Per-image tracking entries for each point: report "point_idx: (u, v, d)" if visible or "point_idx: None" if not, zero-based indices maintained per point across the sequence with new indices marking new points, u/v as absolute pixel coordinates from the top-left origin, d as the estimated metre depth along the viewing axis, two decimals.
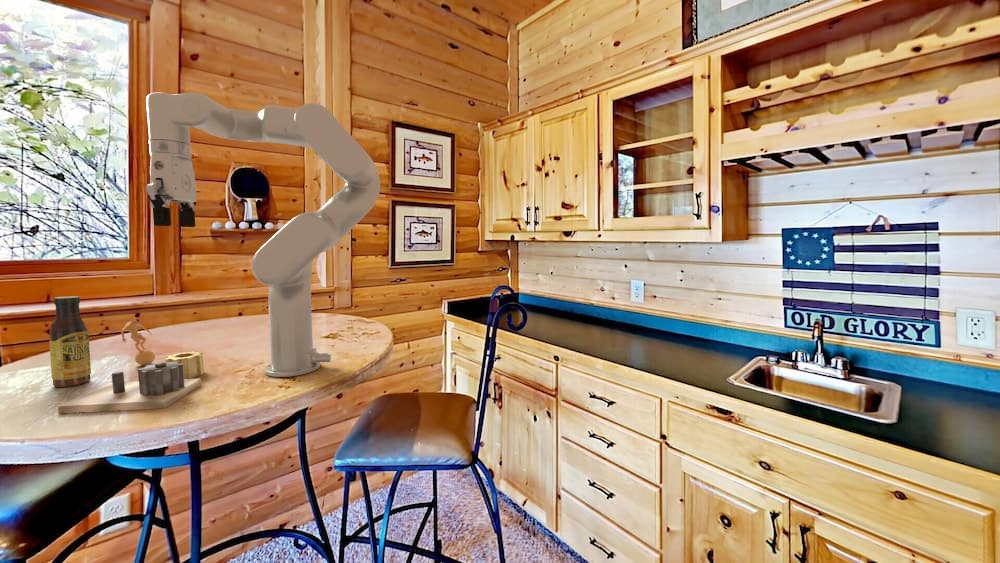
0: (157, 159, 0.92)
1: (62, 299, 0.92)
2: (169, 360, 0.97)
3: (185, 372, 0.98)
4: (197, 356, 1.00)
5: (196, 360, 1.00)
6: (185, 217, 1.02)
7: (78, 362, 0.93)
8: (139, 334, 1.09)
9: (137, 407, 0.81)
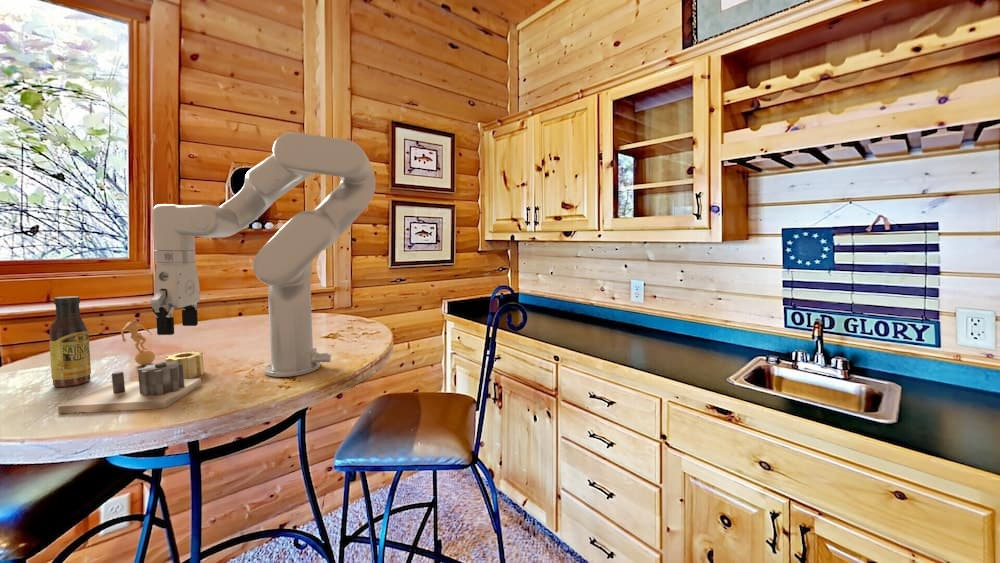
0: (162, 270, 0.93)
1: (62, 299, 0.92)
2: (169, 360, 0.97)
3: (185, 372, 0.98)
4: (197, 356, 1.00)
5: (196, 360, 1.00)
6: (188, 316, 1.03)
7: (78, 362, 0.93)
8: (139, 334, 1.09)
9: (137, 407, 0.81)
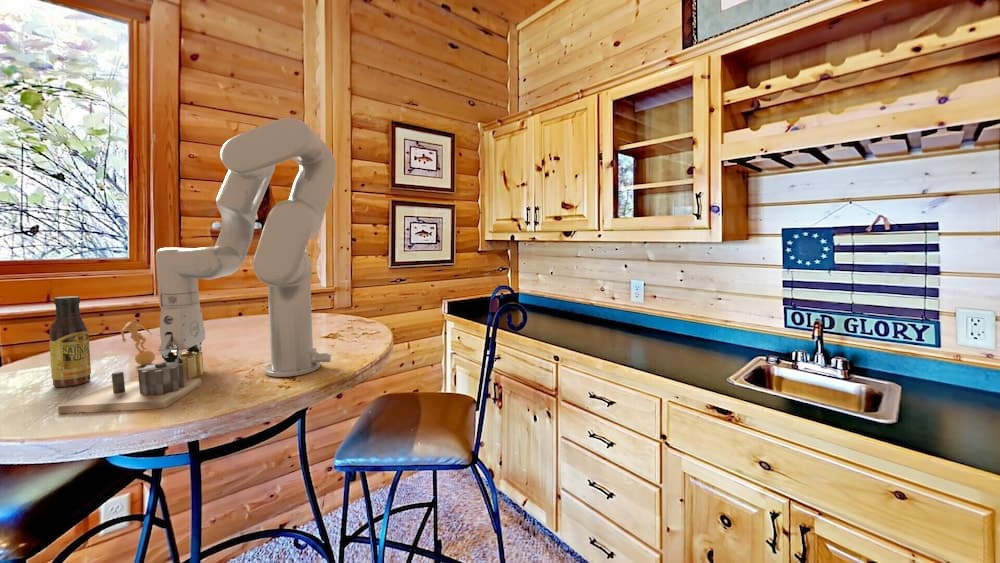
0: (167, 314, 0.94)
1: (62, 299, 0.92)
2: None
3: (185, 372, 0.98)
4: (197, 356, 1.00)
5: (196, 360, 1.00)
6: None
7: (78, 362, 0.93)
8: (139, 334, 1.09)
9: (137, 407, 0.81)
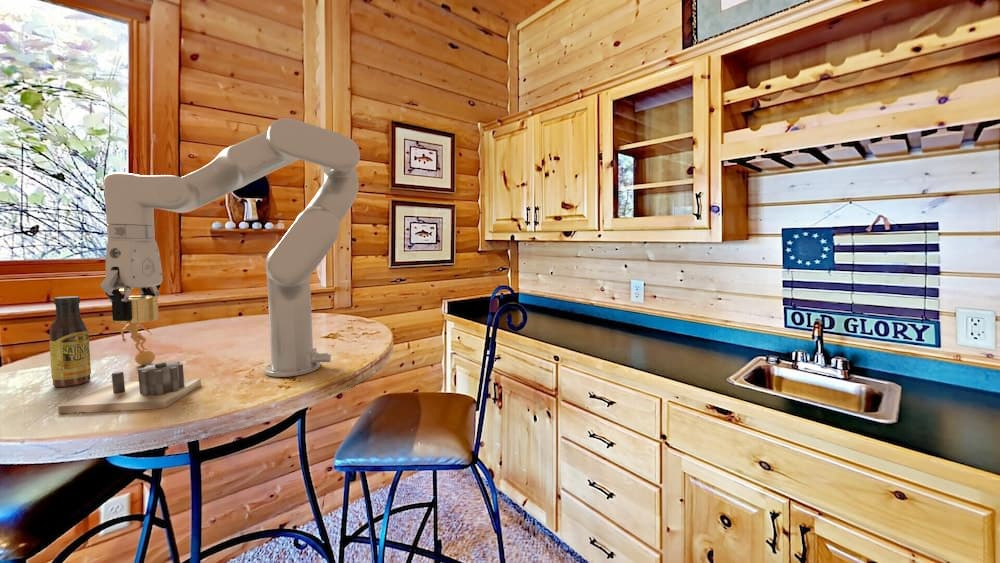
0: (113, 246, 0.83)
1: (62, 299, 0.92)
2: None
3: (134, 315, 0.87)
4: (150, 299, 0.89)
5: (148, 303, 0.89)
6: None
7: (78, 363, 0.93)
8: (139, 334, 1.08)
9: (137, 407, 0.81)
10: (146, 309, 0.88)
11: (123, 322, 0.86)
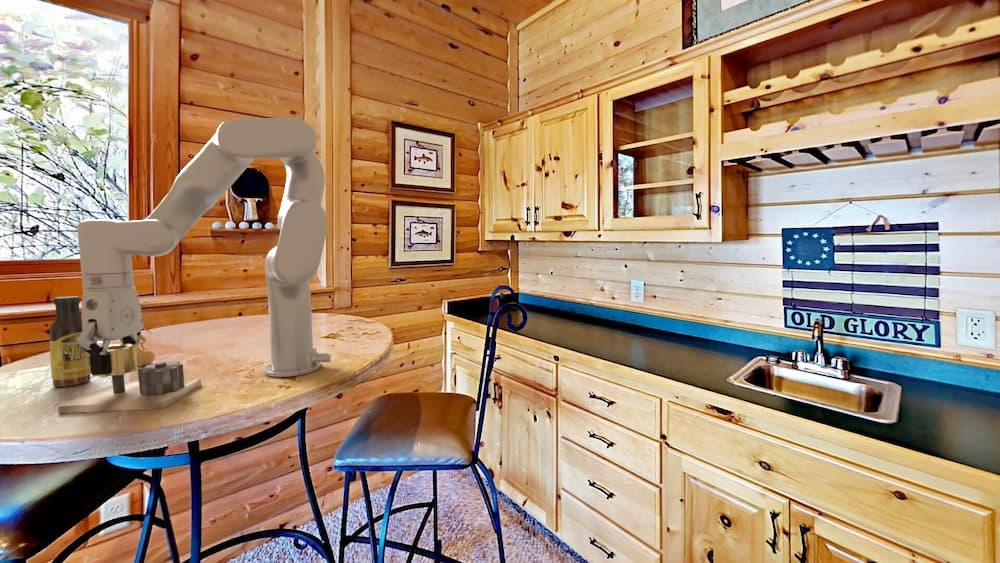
0: (90, 298, 0.79)
1: (62, 299, 0.92)
2: None
3: (114, 367, 0.83)
4: (130, 348, 0.85)
5: (128, 353, 0.85)
6: None
7: (78, 362, 0.93)
8: None
9: (137, 407, 0.81)
10: (126, 360, 0.84)
11: (102, 375, 0.82)
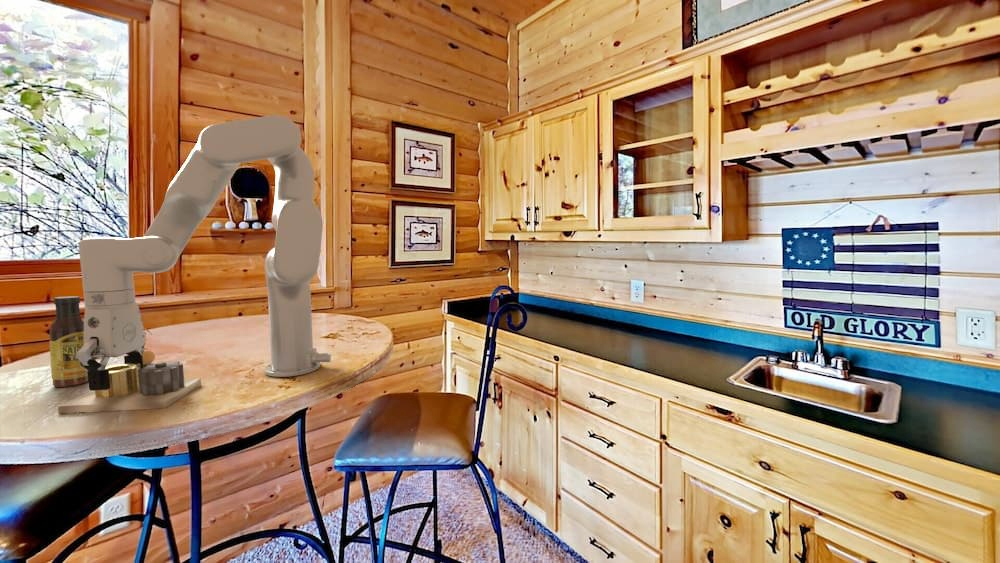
0: (91, 315, 0.80)
1: (62, 299, 0.92)
2: None
3: (117, 388, 0.83)
4: (132, 369, 0.85)
5: (131, 374, 0.85)
6: None
7: (78, 363, 0.93)
8: None
9: (137, 407, 0.81)
10: (129, 380, 0.85)
11: (105, 397, 0.82)
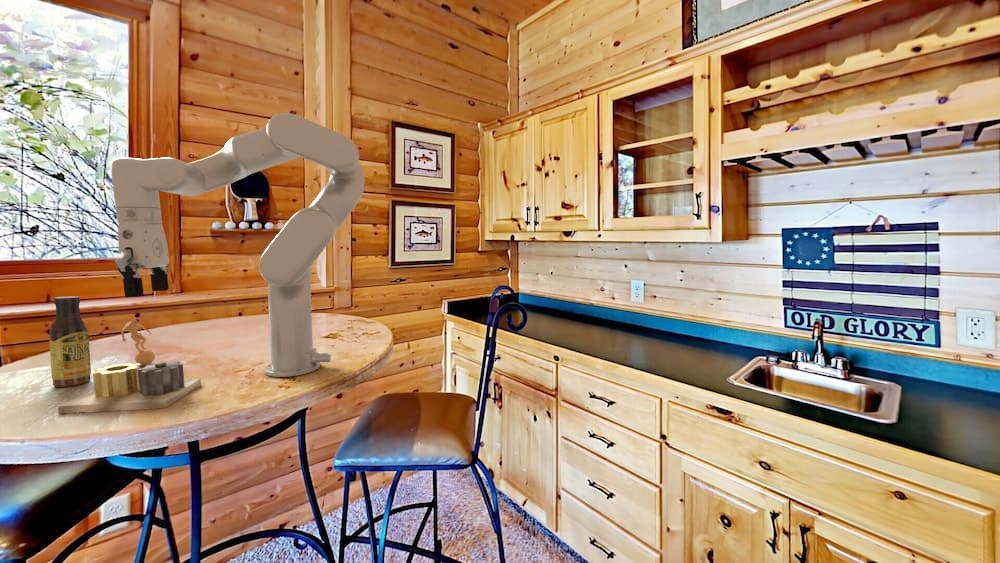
0: (125, 228, 0.88)
1: (62, 299, 0.92)
2: (97, 374, 0.83)
3: (117, 388, 0.83)
4: (132, 369, 0.85)
5: (131, 374, 0.85)
6: (157, 281, 0.98)
7: (78, 362, 0.93)
8: (139, 334, 1.09)
9: (137, 407, 0.81)
10: (129, 380, 0.85)
11: (105, 397, 0.82)
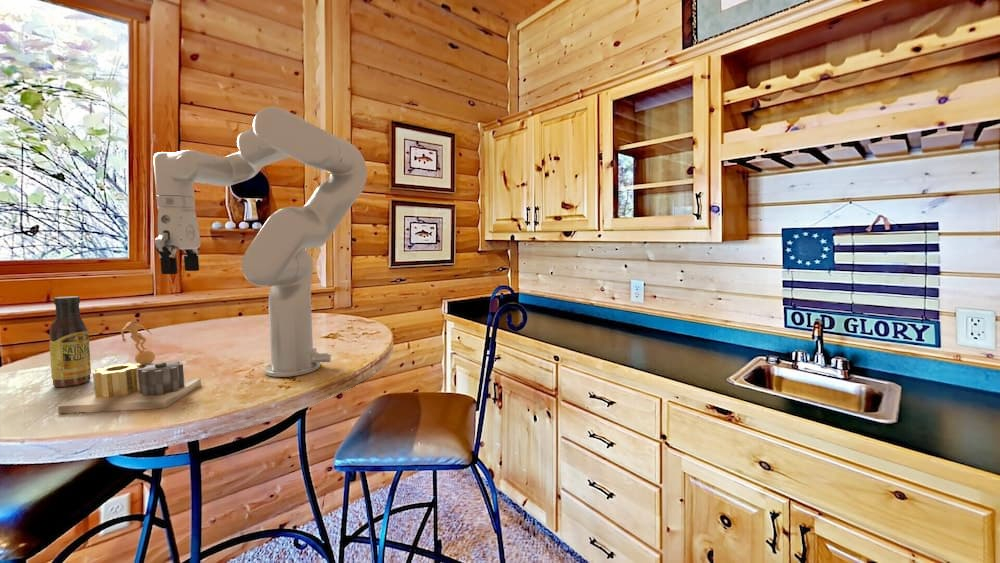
0: (164, 213, 1.00)
1: (62, 299, 0.92)
2: (97, 374, 0.83)
3: (117, 388, 0.83)
4: (132, 369, 0.85)
5: (131, 374, 0.85)
6: (190, 262, 1.10)
7: (78, 362, 0.93)
8: (139, 334, 1.09)
9: (137, 407, 0.81)
10: (129, 380, 0.85)
11: (105, 397, 0.82)
